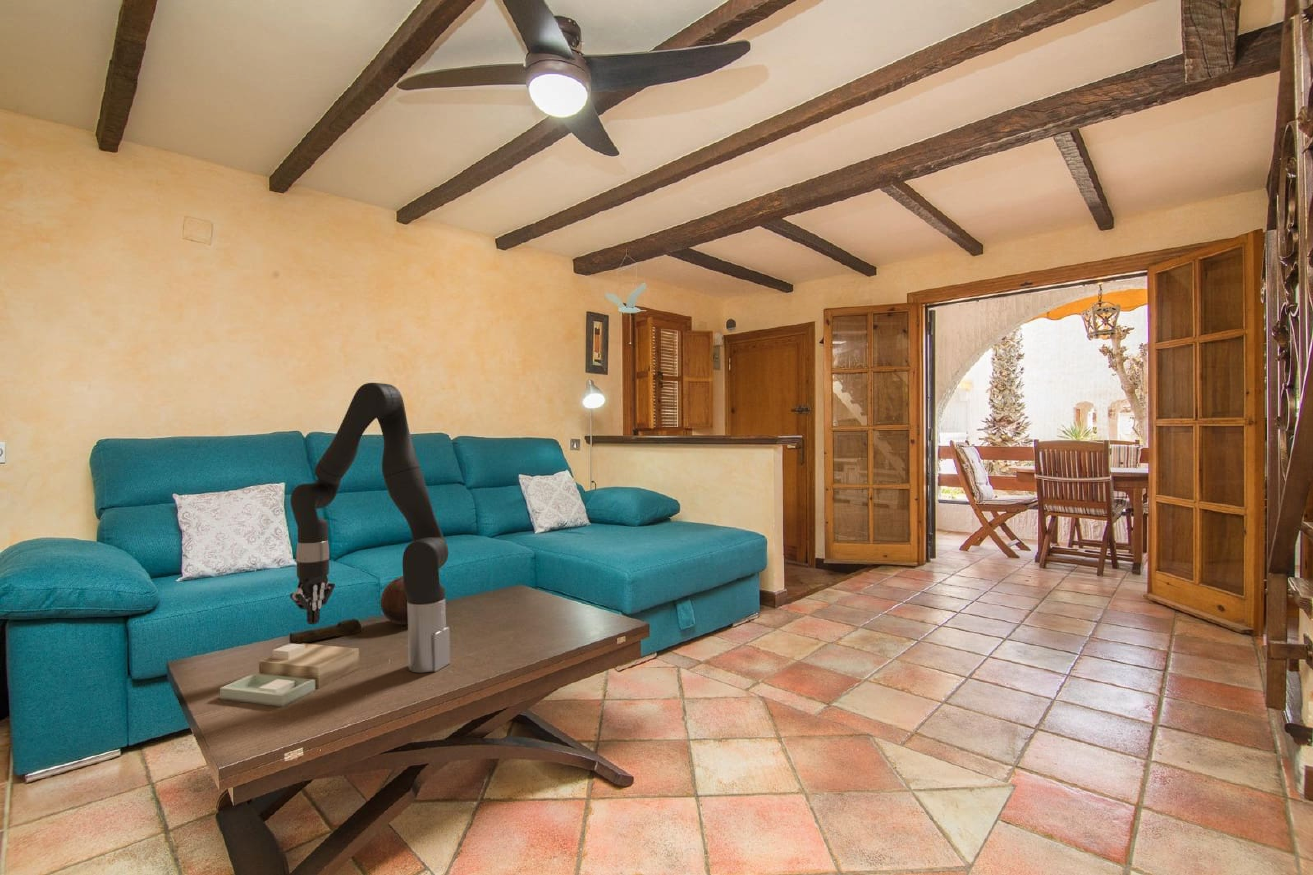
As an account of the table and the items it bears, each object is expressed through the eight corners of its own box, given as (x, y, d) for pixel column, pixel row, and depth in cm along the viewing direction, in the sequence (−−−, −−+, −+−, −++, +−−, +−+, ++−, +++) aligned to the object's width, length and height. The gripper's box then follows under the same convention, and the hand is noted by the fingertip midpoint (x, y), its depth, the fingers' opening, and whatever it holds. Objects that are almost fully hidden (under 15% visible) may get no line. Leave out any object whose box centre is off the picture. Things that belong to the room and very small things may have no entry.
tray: (315, 690, 143) (315, 679, 143) (282, 706, 134) (282, 695, 134) (255, 683, 148) (255, 672, 148) (220, 698, 139) (220, 688, 139)
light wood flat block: (359, 667, 157) (358, 648, 157) (318, 688, 144) (318, 667, 144) (303, 662, 162) (302, 643, 161) (259, 681, 149) (258, 661, 149)
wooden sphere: (440, 622, 194) (439, 575, 194) (394, 634, 183) (393, 584, 183) (417, 613, 204) (417, 569, 204) (372, 624, 193) (371, 577, 193)
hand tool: (290, 649, 173) (290, 632, 173) (288, 645, 176) (288, 629, 176) (362, 635, 184) (362, 620, 184) (360, 631, 187) (359, 616, 187)
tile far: (305, 652, 154) (305, 644, 154) (288, 659, 150) (288, 651, 150) (289, 651, 156) (289, 643, 156) (272, 658, 151) (272, 650, 151)
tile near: (275, 689, 138) (276, 698, 138) (294, 681, 143) (294, 689, 143) (258, 687, 139) (258, 696, 139) (277, 679, 144) (277, 687, 144)
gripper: (303, 564, 153) (304, 632, 153) (343, 554, 166) (344, 617, 166) (280, 562, 155) (280, 630, 155) (321, 552, 168) (321, 615, 168)
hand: (313, 623), depth 160 cm, fingers closed
